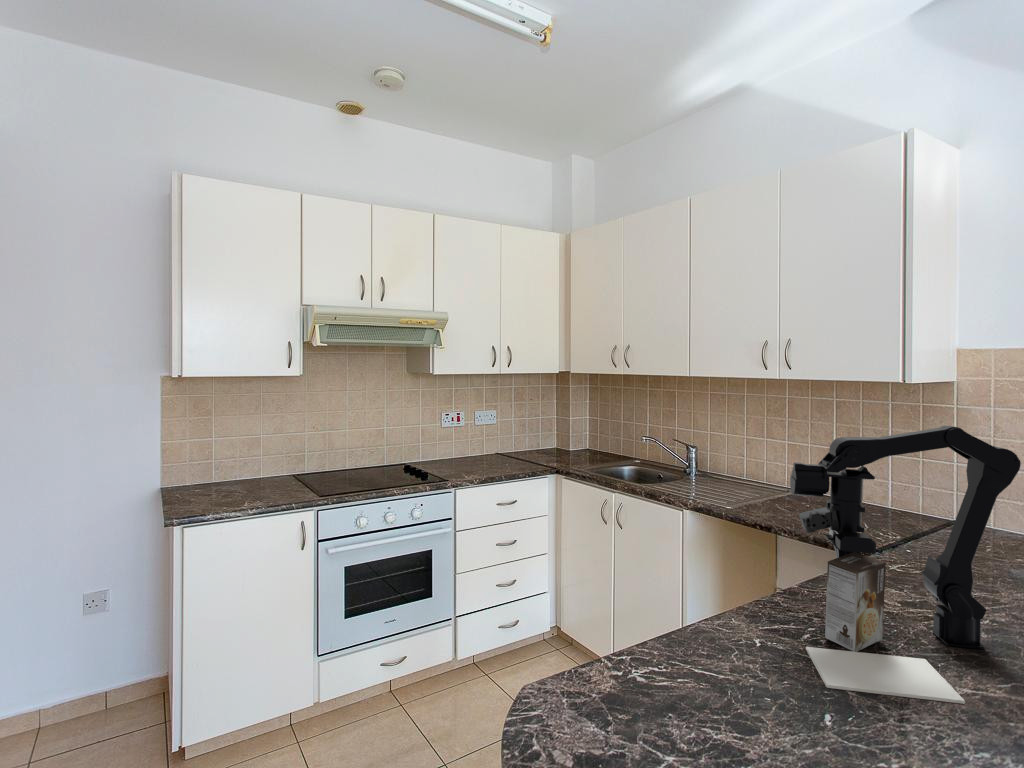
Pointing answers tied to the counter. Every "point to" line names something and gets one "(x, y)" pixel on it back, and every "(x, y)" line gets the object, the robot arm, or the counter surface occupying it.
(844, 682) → the mat
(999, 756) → the counter surface
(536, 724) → the counter surface
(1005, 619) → the counter surface
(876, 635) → the coffee box
